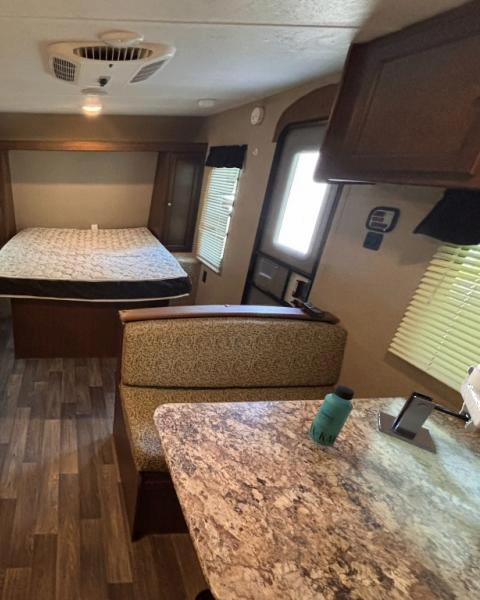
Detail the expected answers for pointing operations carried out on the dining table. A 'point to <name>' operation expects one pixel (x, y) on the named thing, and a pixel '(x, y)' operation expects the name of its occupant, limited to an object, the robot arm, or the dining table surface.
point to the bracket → (410, 421)
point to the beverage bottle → (332, 416)
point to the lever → (463, 417)
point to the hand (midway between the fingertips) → (465, 423)
